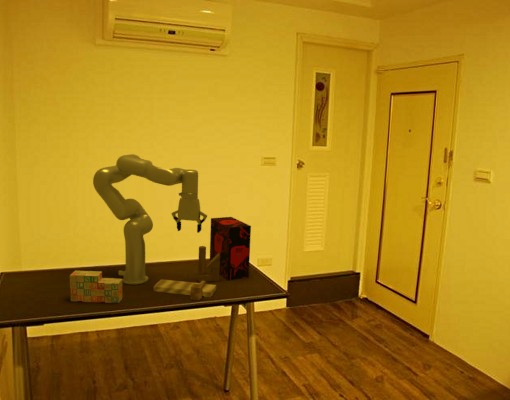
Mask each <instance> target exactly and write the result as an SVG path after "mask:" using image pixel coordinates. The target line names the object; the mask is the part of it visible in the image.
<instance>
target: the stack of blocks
mask: <svg viewBox="0 0 510 400" xmlns="http://www.w3.org/2000/svg"><path fill="white" fill-rule="evenodd" d="M122 279H123V278H115V277H114V278H113V277H111V278H110V277H103V271H96V270H95V271H93V270H74V271H73V272H72V273H71V274H70V275H69V290H70V291H69V293H70V302H78V301H82V302H81V303H101V302H105V304H107V303H108V304H119V303H120V302H121V301H122V299H123V281H122Z"/></svg>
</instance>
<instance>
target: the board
mask: <svg viewBox="0 0 510 400" xmlns="http://www.w3.org/2000/svg"><path fill="white" fill-rule="evenodd" d="M193 284H200V282H190V281H182V280H181V281H180V280H172V279H162V278H161V279H160V280H159V281H158V282H157V283H155V285H153V292H157V293H167V294H175V295H177V294H178V295H186V296H191V286H192V285H193ZM216 290H217V284H210V283H205V285H204V286H203V296H204V298H212V297H213V295H214V294H215V292H216ZM211 296H212V297H211Z"/></svg>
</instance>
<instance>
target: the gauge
mask: <svg viewBox="0 0 510 400" xmlns="http://www.w3.org/2000/svg"><path fill="white" fill-rule="evenodd" d="M199 283H200V284H193V285H192V286H191V295H190V300H191V301H199V300H200V299H201V300H202V298H203V297H202V296H203V286H204V285H205V284H207V282H206V281H201V282H199ZM192 299H193V300H192ZM201 300H200V301H201Z"/></svg>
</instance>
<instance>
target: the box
mask: <svg viewBox="0 0 510 400" xmlns="http://www.w3.org/2000/svg"><path fill="white" fill-rule="evenodd" d="M251 232H252V225H250V224H248V223H245V222H243V221H241V220H239V219H237V218H235V217H233V216H225V217H223V216H221V217H211V218H210V232H209V233H210V235H209V236H210V241H209V262H210V261H211V260H212V259H213V258H214V257H215V256H216V255H217V254H218V253H219V254H220V268H219V276H220V277H222V278H223V279H225V280H226V281H233V280H235V281H236V280H241V279H247V278H248V279H249V275H250V255H251V254H250V253H251V234H252V233H251ZM210 269H211V270H212V268H210Z"/></svg>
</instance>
